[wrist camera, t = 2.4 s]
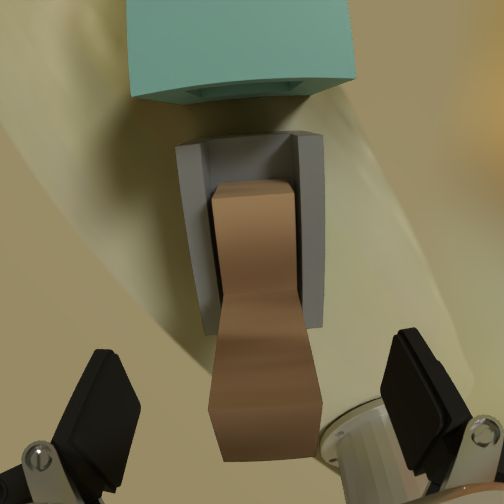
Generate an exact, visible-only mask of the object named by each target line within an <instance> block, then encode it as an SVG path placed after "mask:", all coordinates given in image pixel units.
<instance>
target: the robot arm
mask: <svg viewBox="0 0 504 504" xmlns="http://www.w3.org/2000/svg"><path fill="white" fill-rule="evenodd" d="M380 393H381V397H382V398H380V399H377V400H374V401H371V402H369V403H366V404H364V405H362V406H360V407H358V408H356V409H354V410H352V411H350V412H349V413H347V414H345V415H344V416H342V417H341V418H339V419H338V420H337V421H336V422H334V423H333V424H332V425H331V426H330V427H329V428H328V429H327V430H326V431H325V433H324V434H323V436H322V438H321V441H320V452H321V456H322V458H323V459H324V461H325V462H327V463H328V464H330V465H332V466H335V467H339V469H340V475H341V480H342V485H343V490H344V495H345V500H346V504H504V430H503V426H502V425H501V423H500V422H499V421H498V420H497V419H496V418H494V417H492V416H490V415H478V416H476V417H474V418H473V417H472V415H471V413H470V412H469V410H468V408H467V406H466V404H465V402H464V401H463V399H462V397H461V395H460V394H459V392H458V390H457V389H456V387H455V385H454V383H453V382H452V380H451V378H450V377H449V375H448V373H447V372H446V370H445V368H444V367H443V365H442V364H441V363H440V361H438V360H436V358H435V356H434V355H433V353H432V352H431V350H430V348H429V347H428V345H427V344H426V342H425V341H424V339H423V337H422V336H421V334H420V333H419V331H418V330H417V329H416V328H415V327H413V328H408V329H402V330H399V331H398V334H397V335H394V337H393V340H392V345H391V349H390V353H389V357H388V361H387V365H386V369H385V373H384V376H383V380H382V383H381V387H380ZM140 410H141V405H140V402H139V400H138V398H137V396H136V394H135V391H134V389H133V387H132V385H131V383H130V381H129V379H128V376H127V374H126V372H125V370H124V367H123V365H122V363H121V361H120V358H119V356H118V355H117V354H115V353H114V352H113V351H112V350H109V349H96V350H95V351H94V353H93V355H92V357H91V359H90V361H89V363H88V364H87V366H86V368H85V370H84V372H83V374H82V376H81V378H80V380H79V382H78V384H77V386H76V388H75V391H74V392H73V394H72V397H71V399H70V401H69V403H68V405H67V407H66V409H65V411H64V414H63V416H62V418H61V420H60V422H59V425H58V427H57V429H56V431H55V433H54V436H53V438H52V441H51V443H49V442H46V441H36V442H33V443H31V444H30V445H28V446H27V447H26V449H25V450H24V452H23V454H22V459H21V460H22V464H20V465H18V466H16V467H14V468H12V469H10V470H7V471H5V472H3V473H1V474H0V504H104V502H103V500H102V498H101V496H102V492H103V491H106V492H111V493H115V492H116V488H117V487H119V486H120V485H121V483H122V479H123V475H124V471H125V467H126V463H127V459H128V455H129V452H130V448H131V444H132V440H133V437H134V433H135V429H136V426H137V422H138V419H139V415H140Z"/></svg>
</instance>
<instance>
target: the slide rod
mask: <svg viewBox="0 0 504 504" xmlns="http://www.w3.org/2000/svg"><path fill="white" fill-rule="evenodd" d="M212 208H213V216H214V224H215V232H216V240H217V248H218V256H219V264H220V271H221V279H222V286H223V293H224V296H223V303H222V310H221V317H220V324H219V331H218V338H217V345H216V352H215V360H214V367H213V375H212V382H211V390H210V398H209V405H208V412H209V415H210V419H211V422H212V425H213V429H214V432H215V435H216V439H217V442H218V445H219V448H220V451H221V455H222V458H223V461H224V462H248V461H249V462H250V461H271V460H286V459H296V458H306V457H315V456H316V450H317V444H318V436H319V429H320V422H321V414H322V405H323V401H322V397H321V392H320V387H319V383H318V378H317V374H316V369H315V365H314V360H313V356H312V351H311V347H310V343H309V338H308V334H307V330H306V325H305V321H304V317H303V313H302V308H301V304H300V300H299V296H298V292H297V265H296V228H295V201H294V192H293V190H292V188H291V186H290V185H289V183H288V181H287V179H286V178H280V179H265V180H251V181H238V182H227V183H219V185H218V187H217V189H216V191H215V193H214V195H213V197H212Z"/></svg>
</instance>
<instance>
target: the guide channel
mask: <svg viewBox="0 0 504 504" xmlns="http://www.w3.org/2000/svg"><path fill="white" fill-rule="evenodd" d="M175 152H176V160H177V168H178V176H179V184H180V191H181V198H182V205H183V212H184V219H185V226H186V232H187V238H188V245H189V251H190V257H191V263H192V269H193V275H194V280H195V286H196V291H197V297H198V302H199V307H200V313H201V318H202V323H203V328H204V333H205V335H218V331H219V324H220V317H221V310H222V303H223V296H224V293H223V286H222V279H221V271H220V264H219V256H218V248H217V240H216V232H215V224H214V216H213V208H212V197H213V195H214V193H215V191H216V189H217V187H218V185H219V183H227V182H238V181H251V180H265V179H280V178H286V179H287V181H288V183H289V185H290V186H291V188H292V190H293V192H294V201H295V228H296V265H297V292H298V296H299V300H300V304H301V308H302V313H303V317H304V321H305V325H306V329H310V328H321V327H322V326H323V305H324V275H325V175H324V146H323V135H320V134H315V133H311V132H307V131H281V132H264V133H250V134H238V135H227V136H217V137H207V138H199V139H195V140H192V141H189V142H186V143H184V144H181V145H178V146H176V147H175Z"/></svg>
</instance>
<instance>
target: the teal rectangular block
mask: <svg viewBox="0 0 504 504" xmlns="http://www.w3.org/2000/svg"><path fill="white" fill-rule="evenodd" d="M127 42H128V62H129V77H130V89H131V97H134V98H141V99H148V100H155V101H161V102H167V103H173V104H178V105H188V104H195V103H203V102H211V101H220V100H230V99H241V98H254V97H270V96H294V95H313V94H315V93H318V92H321V91H323V90H326V89H329V88H331V87H334V86H337V85H340V84H342V83H345V82H348V81H351V80H354V79H356V70H355V60H354V50H353V41H352V32H351V24H350V17H349V10H348V3H347V0H127Z"/></svg>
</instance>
